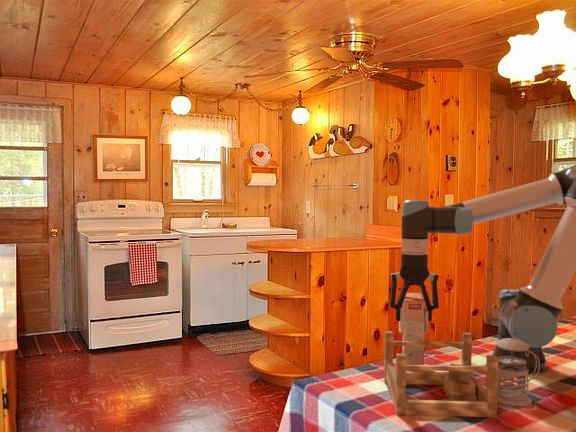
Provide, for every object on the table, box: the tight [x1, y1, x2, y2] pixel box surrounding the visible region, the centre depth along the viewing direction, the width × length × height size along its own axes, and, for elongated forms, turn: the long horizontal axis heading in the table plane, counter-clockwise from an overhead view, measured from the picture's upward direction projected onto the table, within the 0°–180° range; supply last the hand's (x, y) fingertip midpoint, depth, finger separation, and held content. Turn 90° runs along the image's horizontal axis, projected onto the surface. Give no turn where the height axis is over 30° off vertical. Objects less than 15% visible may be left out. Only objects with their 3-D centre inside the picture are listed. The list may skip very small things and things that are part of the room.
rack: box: [383, 330, 498, 418], centre depth 132 cm, size 23×22×14 cm
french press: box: [494, 301, 540, 407], centre depth 132 cm, size 10×12×25 cm
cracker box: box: [402, 292, 426, 372], centre depth 152 cm, size 14×6×21 cm, turn 169°
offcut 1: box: [447, 363, 472, 385], centre depth 133 cm, size 5×7×2 cm
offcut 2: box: [444, 373, 476, 395], centre depth 133 cm, size 6×8×2 cm
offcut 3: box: [442, 382, 477, 401], centre depth 133 cm, size 6×9×2 cm, turn 177°
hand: (413, 331), depth 152 cm, fingers closed on cracker box, 6 cm apart
